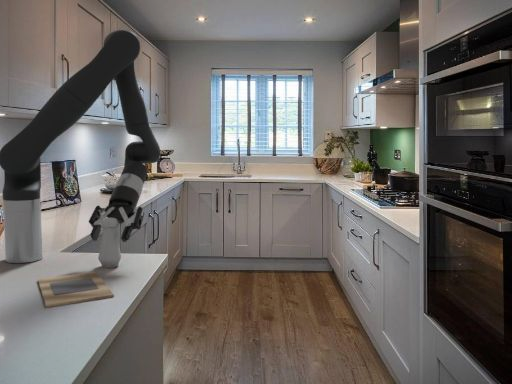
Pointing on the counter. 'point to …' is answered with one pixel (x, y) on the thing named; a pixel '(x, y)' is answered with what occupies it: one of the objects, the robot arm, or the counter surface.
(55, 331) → the counter surface
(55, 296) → the wooden board
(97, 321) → the counter surface
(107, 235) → the salt shaker
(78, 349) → the counter surface
